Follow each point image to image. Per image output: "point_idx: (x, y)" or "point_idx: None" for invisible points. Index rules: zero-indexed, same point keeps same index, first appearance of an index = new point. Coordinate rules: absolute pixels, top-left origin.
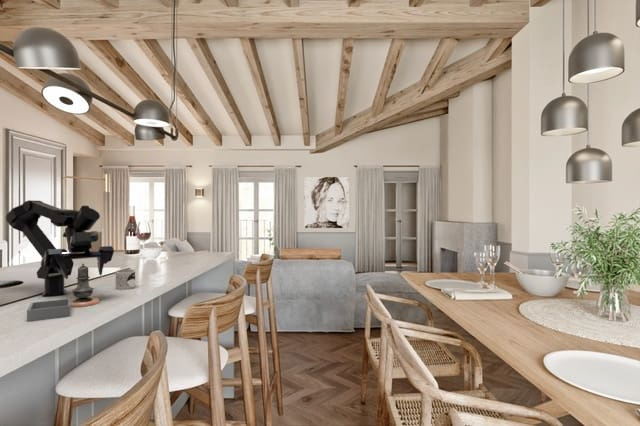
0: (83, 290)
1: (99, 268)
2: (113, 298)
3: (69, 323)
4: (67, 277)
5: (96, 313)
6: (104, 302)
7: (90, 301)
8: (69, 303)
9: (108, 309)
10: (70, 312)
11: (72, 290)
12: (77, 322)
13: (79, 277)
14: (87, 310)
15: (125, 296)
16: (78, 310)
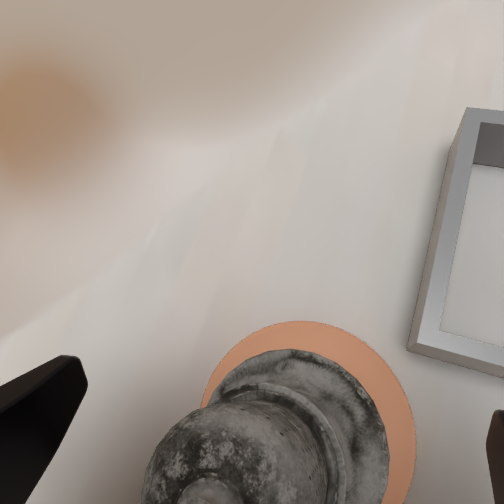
0: (306, 365)
1: (4, 445)
2: (103, 428)
3: (477, 20)
4: (500, 412)
5: (320, 120)
6: (191, 351)
7: None
8: (459, 170)
9: (245, 161)
10: (433, 228)
11: (384, 473)
12: (440, 17)
13: (316, 440)
14: (337, 215)
15: None
16: (379, 253)
